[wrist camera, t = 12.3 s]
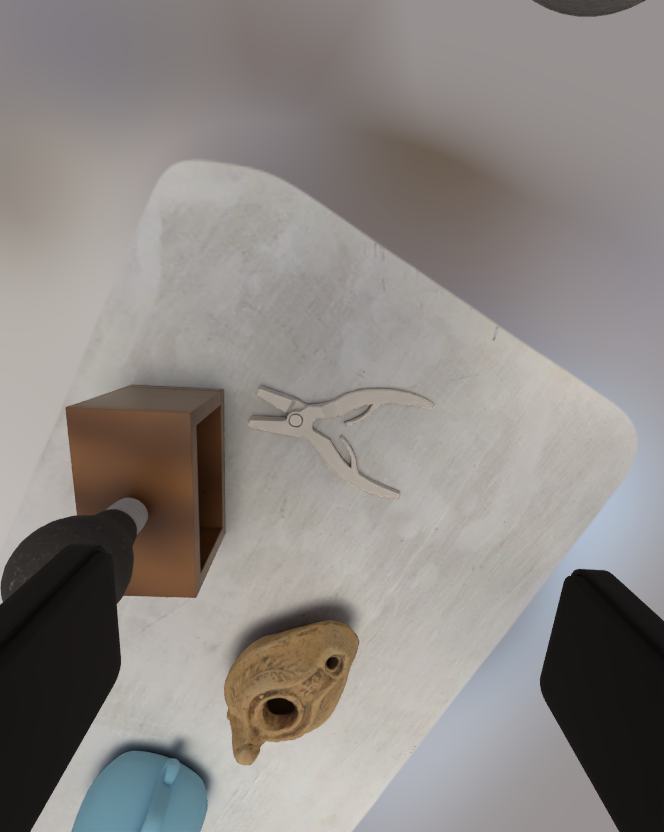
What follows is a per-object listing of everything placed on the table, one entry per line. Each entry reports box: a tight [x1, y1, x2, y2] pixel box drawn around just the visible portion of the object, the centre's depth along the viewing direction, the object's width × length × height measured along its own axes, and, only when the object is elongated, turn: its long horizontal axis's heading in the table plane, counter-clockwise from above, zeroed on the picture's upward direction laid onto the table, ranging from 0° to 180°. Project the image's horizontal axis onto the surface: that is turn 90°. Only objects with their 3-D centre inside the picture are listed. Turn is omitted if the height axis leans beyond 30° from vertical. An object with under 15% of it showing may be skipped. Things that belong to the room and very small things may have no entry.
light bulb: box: [1, 498, 148, 604], centre depth 22 cm, size 6×6×10 cm
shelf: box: [66, 385, 225, 598], centre depth 32 cm, size 14×8×9 cm, turn 177°
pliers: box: [249, 386, 435, 499], centre depth 35 cm, size 10×2×15 cm
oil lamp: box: [224, 620, 359, 765], centre depth 37 cm, size 11×15×8 cm
